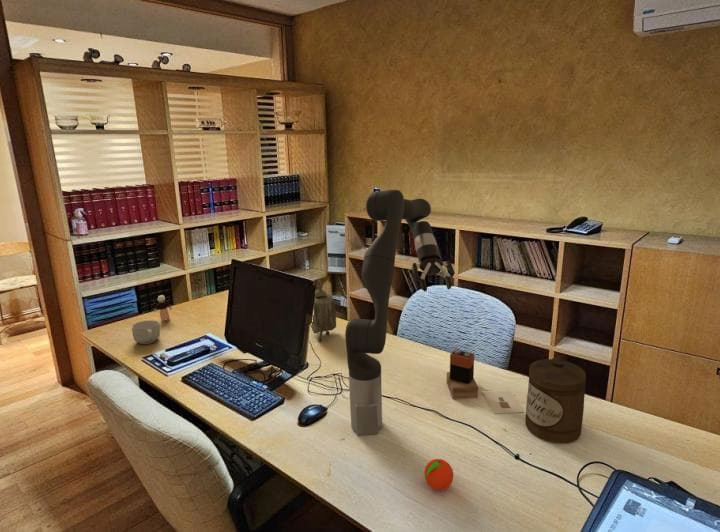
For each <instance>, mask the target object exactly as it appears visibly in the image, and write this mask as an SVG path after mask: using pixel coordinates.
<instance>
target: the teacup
mask: <svg viewBox="0 0 720 532" xmlns="http://www.w3.org/2000/svg"><path fill="white" fill-rule="evenodd" d="M130 327H131V331H132V338H133V340H134V341H135V342H136V343H139V344H141V345H149V344H154V342H156V341H157V340H158V339H159V338H160V335H161V332H160V331H161V329H160V322H159V321H158V320H154V319H149V320H142V321H137V322H135V323H133V324H132V325H131V326H130Z"/></svg>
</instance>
